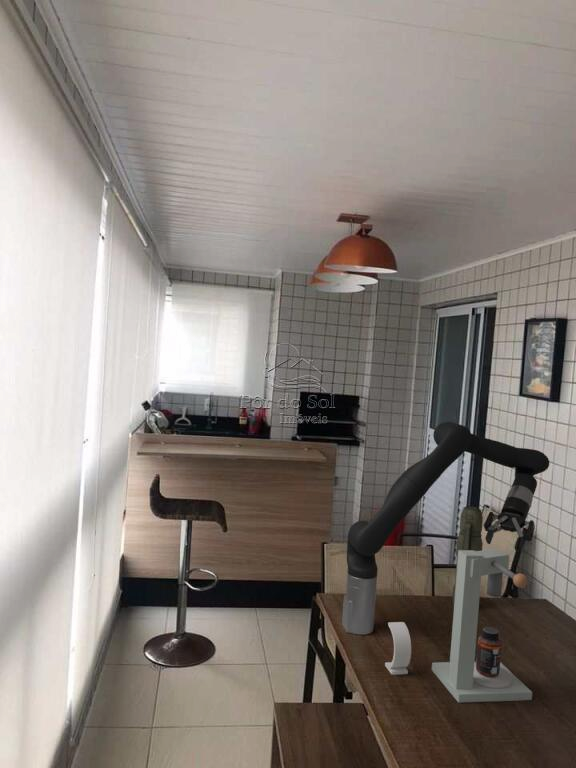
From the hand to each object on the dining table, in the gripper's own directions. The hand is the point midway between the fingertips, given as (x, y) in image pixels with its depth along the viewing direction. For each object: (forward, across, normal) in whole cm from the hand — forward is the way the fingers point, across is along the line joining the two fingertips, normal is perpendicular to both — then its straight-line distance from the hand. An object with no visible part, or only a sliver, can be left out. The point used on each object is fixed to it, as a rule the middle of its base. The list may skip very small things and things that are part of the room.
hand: (501, 545), depth 180 cm
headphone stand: (+47, -13, -4) cm, 49 cm away
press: (+42, +10, +1) cm, 43 cm away
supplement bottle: (+37, +7, +3) cm, 37 cm away
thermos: (+4, -20, +39) cm, 44 cm away
